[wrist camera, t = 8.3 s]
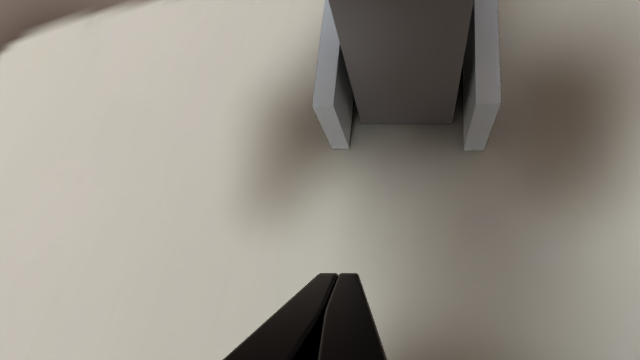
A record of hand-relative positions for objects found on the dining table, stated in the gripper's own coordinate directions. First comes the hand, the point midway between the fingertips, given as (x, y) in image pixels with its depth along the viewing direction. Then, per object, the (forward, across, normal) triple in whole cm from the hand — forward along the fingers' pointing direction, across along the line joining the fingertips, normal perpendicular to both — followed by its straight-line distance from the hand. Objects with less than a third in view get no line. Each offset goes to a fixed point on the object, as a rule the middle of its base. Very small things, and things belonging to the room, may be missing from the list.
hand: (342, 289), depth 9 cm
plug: (+18, -1, 0) cm, 18 cm away
